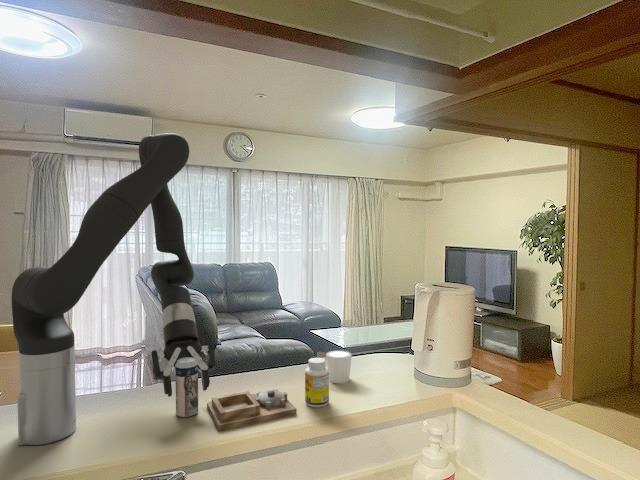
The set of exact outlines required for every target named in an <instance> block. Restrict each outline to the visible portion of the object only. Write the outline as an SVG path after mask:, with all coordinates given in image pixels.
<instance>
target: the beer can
mask: <svg viewBox="0 0 640 480" xmlns="http://www.w3.org/2000/svg"><path fill="white" fill-rule="evenodd" d="M174 370H175V415H176V416H179V417H180V418H191V417H192V416H194V415H196V414H197V413H198V412H199V371H198V362H197V361H196V359H195V358H193V357H185V358H180V359H179V360H177V362H176V364H175V368H174Z"/></svg>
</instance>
